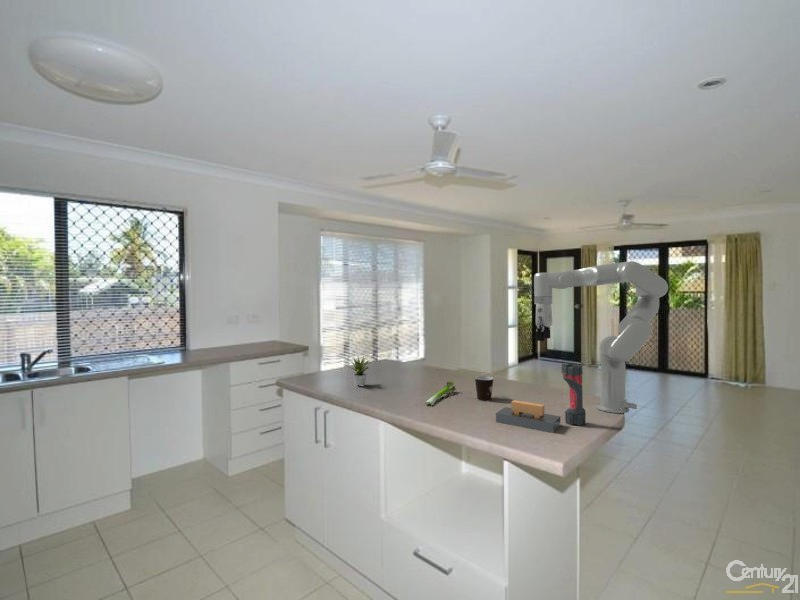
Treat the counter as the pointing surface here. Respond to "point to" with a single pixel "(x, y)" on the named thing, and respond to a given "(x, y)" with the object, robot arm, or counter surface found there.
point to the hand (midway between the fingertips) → (543, 339)
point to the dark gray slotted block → (528, 420)
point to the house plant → (359, 371)
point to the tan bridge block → (527, 408)
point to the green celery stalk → (441, 393)
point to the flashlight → (574, 394)
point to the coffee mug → (484, 387)
